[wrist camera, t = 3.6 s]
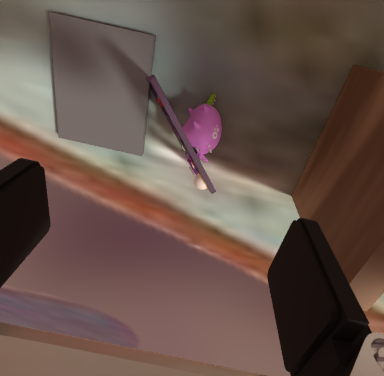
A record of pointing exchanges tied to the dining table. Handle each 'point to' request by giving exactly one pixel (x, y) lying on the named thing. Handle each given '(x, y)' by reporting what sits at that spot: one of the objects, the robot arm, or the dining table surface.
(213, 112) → the pink radish toy
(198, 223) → the dining table surface
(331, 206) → the screen
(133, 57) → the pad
